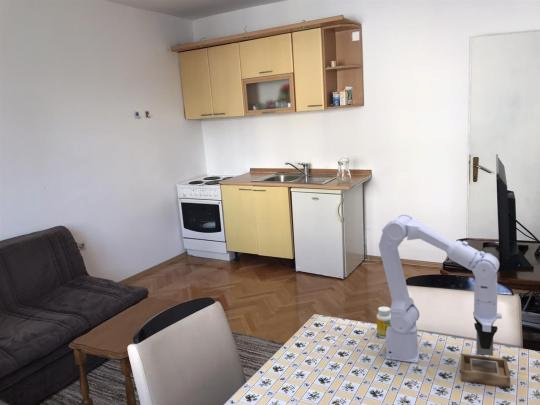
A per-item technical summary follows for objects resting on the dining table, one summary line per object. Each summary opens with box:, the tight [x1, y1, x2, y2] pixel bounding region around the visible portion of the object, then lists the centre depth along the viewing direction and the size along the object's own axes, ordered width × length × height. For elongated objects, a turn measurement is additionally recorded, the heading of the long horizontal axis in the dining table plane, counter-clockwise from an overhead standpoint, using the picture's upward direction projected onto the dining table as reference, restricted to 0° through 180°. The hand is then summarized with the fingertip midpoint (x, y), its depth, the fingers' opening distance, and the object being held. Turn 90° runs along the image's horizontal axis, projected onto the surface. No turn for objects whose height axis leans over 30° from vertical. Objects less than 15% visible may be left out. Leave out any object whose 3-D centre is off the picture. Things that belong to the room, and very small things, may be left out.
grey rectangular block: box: [475, 332, 494, 357], centre depth 125 cm, size 4×4×6 cm
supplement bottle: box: [376, 306, 391, 339], centre depth 153 cm, size 5×5×10 cm
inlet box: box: [460, 353, 511, 389], centre depth 126 cm, size 12×10×3 cm
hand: (484, 344), depth 125 cm, fingers closed on grey rectangular block, 4 cm apart
